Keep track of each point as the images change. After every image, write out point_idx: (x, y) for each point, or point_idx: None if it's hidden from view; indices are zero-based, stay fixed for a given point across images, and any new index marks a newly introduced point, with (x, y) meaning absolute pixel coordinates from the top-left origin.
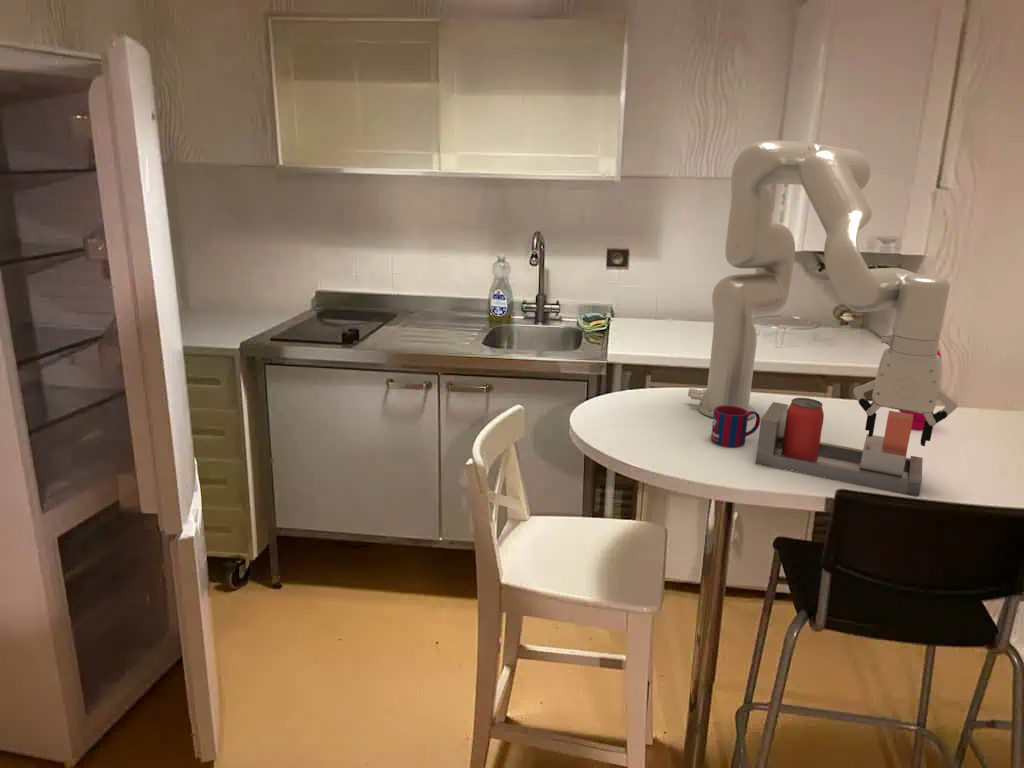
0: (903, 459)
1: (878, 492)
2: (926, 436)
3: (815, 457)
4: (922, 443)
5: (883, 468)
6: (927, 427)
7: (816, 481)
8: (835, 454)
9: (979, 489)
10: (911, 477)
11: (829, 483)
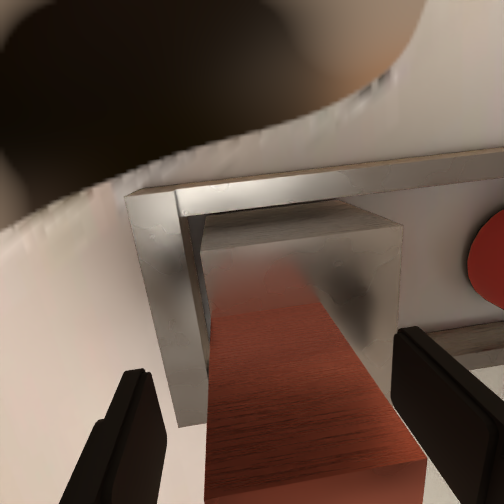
0: (210, 244)
1: (262, 138)
2: (106, 417)
3: (491, 247)
4: (136, 375)
5: (278, 221)
6: (83, 486)
7: (459, 100)
8: None
9: (8, 374)
10: (167, 209)
11: (418, 111)
